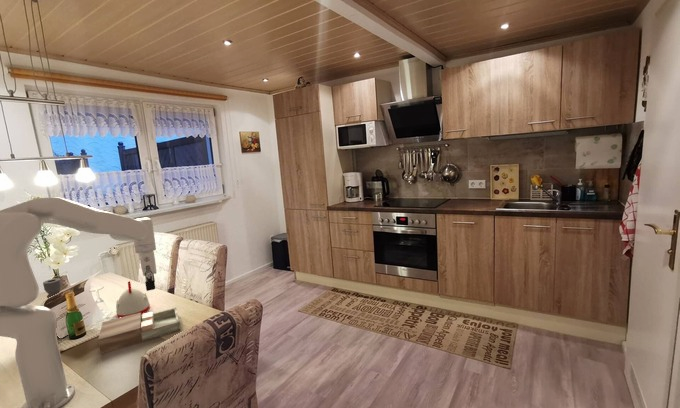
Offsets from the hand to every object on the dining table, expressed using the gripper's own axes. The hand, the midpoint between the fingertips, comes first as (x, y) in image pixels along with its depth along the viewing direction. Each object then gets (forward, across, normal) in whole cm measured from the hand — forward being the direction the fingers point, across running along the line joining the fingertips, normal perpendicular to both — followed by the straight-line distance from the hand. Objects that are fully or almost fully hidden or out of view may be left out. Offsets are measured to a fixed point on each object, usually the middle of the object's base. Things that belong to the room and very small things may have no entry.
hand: (150, 286), depth 139 cm
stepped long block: (+20, +1, +5) cm, 21 cm away
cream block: (+16, +4, +5) cm, 18 cm away
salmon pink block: (+17, -4, +5) cm, 18 cm away
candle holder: (+20, +21, +35) cm, 46 cm away
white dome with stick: (+20, +28, +9) cm, 35 cm away
